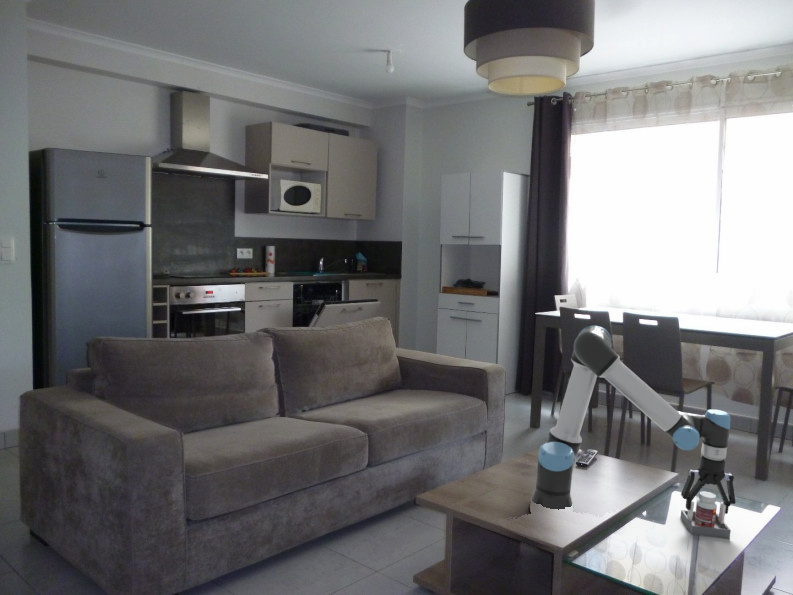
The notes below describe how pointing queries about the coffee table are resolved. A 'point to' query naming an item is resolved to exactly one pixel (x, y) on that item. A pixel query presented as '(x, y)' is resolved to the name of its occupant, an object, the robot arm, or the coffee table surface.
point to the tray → (717, 531)
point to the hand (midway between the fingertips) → (705, 520)
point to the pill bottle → (705, 510)
